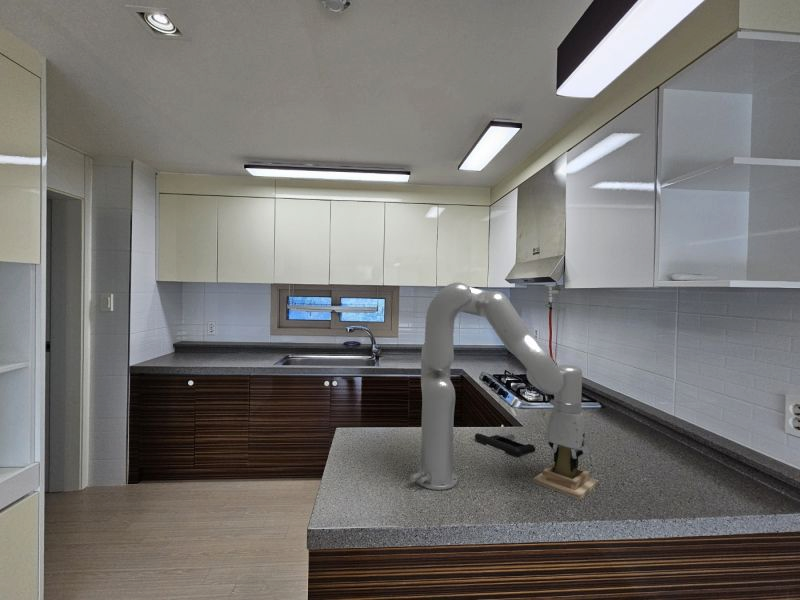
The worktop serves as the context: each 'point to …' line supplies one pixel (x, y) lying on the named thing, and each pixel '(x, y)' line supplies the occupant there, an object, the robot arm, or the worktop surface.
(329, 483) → the worktop surface
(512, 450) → the door handle
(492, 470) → the worktop surface
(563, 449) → the olive tall rounded piece
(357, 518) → the worktop surface
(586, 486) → the holder
